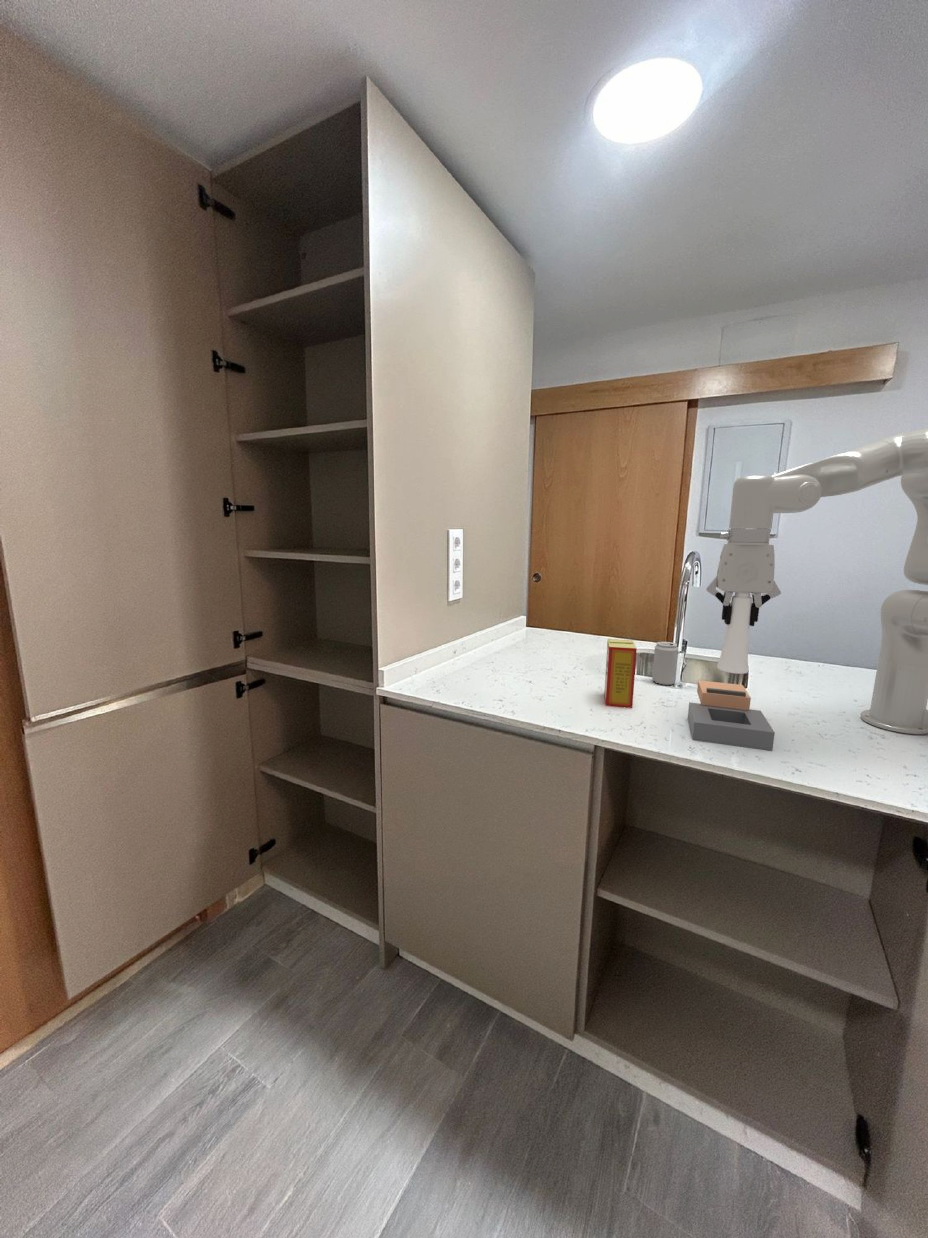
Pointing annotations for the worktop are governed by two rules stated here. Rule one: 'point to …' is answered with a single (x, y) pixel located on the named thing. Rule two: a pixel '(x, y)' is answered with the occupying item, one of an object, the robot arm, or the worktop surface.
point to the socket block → (730, 726)
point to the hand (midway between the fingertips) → (738, 623)
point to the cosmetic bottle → (737, 636)
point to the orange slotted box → (723, 695)
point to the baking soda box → (620, 673)
